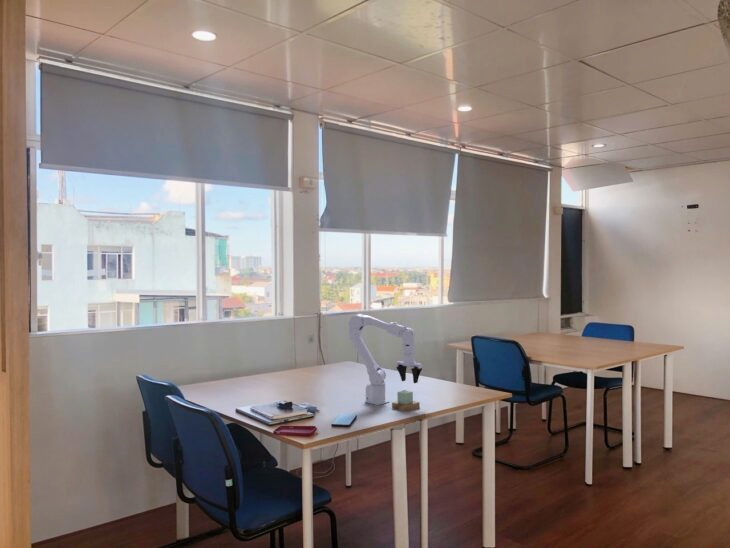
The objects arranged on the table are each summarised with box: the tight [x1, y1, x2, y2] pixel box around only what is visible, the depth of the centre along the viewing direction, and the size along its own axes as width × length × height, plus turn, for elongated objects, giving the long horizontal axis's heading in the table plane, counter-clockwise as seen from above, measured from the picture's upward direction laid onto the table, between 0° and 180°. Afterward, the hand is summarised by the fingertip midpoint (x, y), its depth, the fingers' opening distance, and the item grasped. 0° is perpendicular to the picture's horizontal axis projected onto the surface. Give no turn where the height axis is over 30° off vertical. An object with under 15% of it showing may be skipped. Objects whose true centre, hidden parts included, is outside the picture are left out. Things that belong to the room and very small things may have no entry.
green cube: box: [396, 389, 414, 404], centre depth 269 cm, size 5×5×5 cm
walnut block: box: [391, 400, 420, 413], centre depth 269 cm, size 9×9×3 cm
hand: (409, 381), depth 277 cm, fingers open, 7 cm apart
